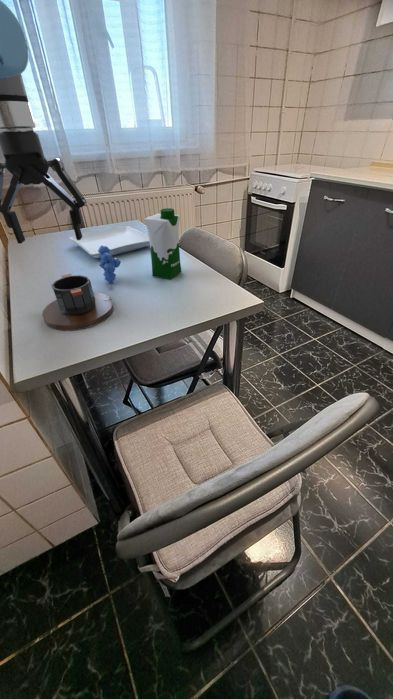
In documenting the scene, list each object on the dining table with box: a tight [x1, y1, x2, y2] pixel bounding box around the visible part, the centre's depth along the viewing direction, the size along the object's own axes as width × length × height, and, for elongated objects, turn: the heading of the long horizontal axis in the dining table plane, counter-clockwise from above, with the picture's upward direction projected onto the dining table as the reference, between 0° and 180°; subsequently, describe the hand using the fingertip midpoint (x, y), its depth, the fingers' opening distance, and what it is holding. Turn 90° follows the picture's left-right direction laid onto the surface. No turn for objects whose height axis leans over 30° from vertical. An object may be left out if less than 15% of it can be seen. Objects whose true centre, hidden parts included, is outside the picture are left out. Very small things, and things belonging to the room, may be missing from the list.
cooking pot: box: [51, 273, 96, 315], centre depth 76 cm, size 9×13×7 cm
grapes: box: [98, 245, 122, 283], centre depth 91 cm, size 12×7×12 cm, turn 23°
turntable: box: [41, 291, 115, 331], centre depth 79 cm, size 18×18×2 cm
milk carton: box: [143, 207, 182, 281], centre depth 92 cm, size 9×9×20 cm
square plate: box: [68, 225, 150, 259], centre depth 122 cm, size 27×27×4 cm
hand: (51, 240), depth 71 cm, fingers open, 13 cm apart
